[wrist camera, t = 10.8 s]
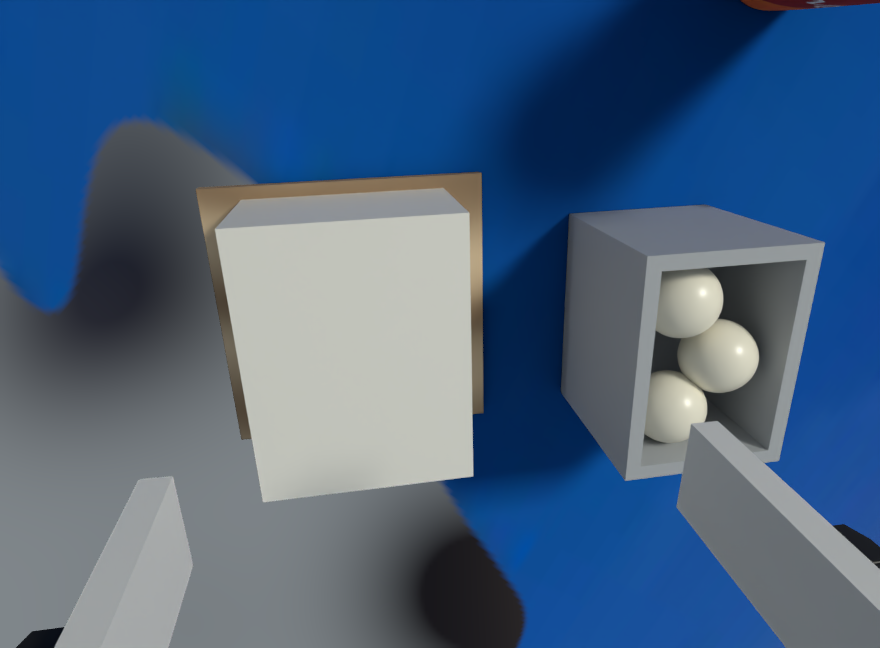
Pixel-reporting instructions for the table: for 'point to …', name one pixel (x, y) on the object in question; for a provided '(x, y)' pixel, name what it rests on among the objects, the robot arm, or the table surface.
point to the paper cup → (801, 4)
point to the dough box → (683, 330)
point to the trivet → (458, 185)
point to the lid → (352, 338)
